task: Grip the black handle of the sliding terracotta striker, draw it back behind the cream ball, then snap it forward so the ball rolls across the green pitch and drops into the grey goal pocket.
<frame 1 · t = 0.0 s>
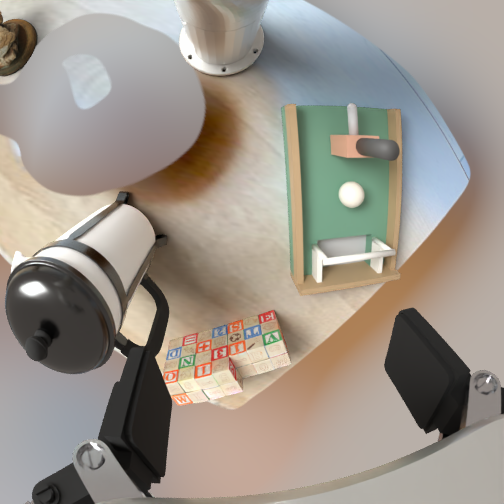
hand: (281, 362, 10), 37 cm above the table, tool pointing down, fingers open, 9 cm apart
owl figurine: (8, 46, 28), on the table
ball: (351, 194, 41), point 4 cm above the table, touching pitch
striker: (364, 136, 34), point 9 cm above the table, slide at 3.0 cm
pitch: (340, 192, 46), on the table
stack of blocks: (225, 336, 55), on the table
coffee press: (131, 238, 45), on the table
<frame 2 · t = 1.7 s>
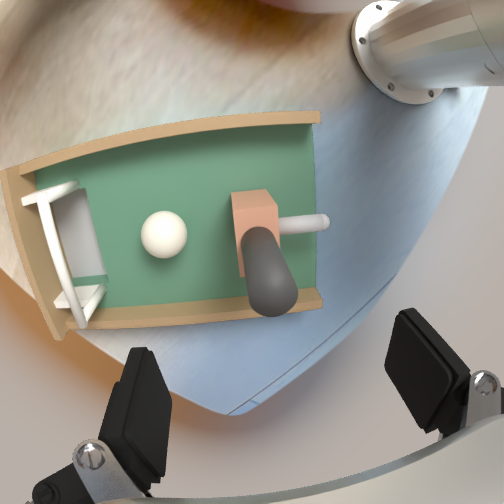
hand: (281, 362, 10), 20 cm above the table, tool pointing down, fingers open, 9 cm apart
ball: (163, 234, 24), point 4 cm above the table, touching pitch
striker: (278, 243, 20), point 9 cm above the table, slide at 3.0 cm
pitch: (167, 219, 28), on the table
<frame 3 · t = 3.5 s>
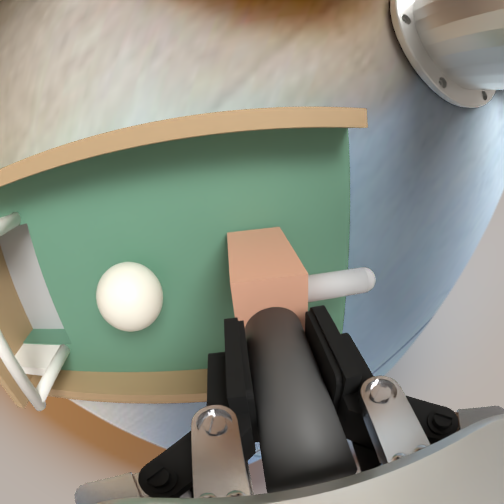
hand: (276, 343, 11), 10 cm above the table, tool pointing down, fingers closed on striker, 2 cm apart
ball: (129, 296, 16), point 4 cm above the table, touching pitch
striker: (307, 332, 12), point 9 cm above the table, slide at 3.0 cm, touching gripper
pitch: (139, 264, 20), on the table
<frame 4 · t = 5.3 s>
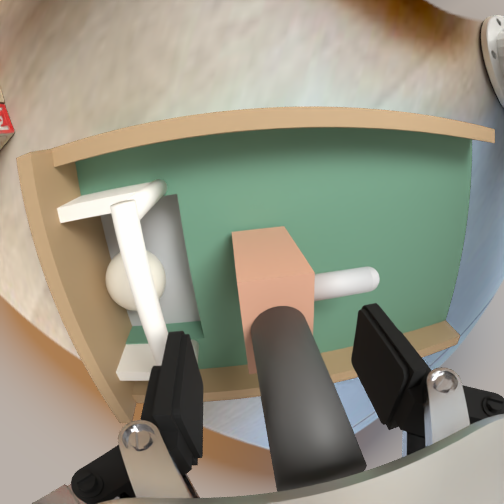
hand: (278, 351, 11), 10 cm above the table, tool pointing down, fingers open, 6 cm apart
ball: (135, 279, 18), point 2 cm above the table, tilted 111°, touching pitch
striker: (313, 331, 12), point 9 cm above the table, slide at 13.7 cm
pitch: (295, 246, 20), on the table
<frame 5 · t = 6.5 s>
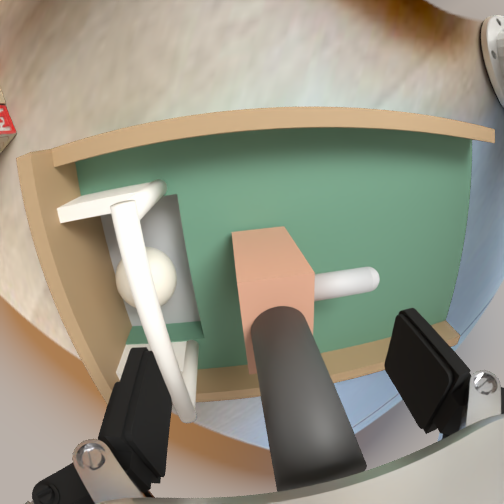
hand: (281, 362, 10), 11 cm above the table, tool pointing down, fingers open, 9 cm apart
ball: (146, 278, 18), point 2 cm above the table, tilted 132°, touching pitch
striker: (313, 331, 12), point 9 cm above the table, slide at 13.7 cm
pitch: (295, 246, 20), on the table
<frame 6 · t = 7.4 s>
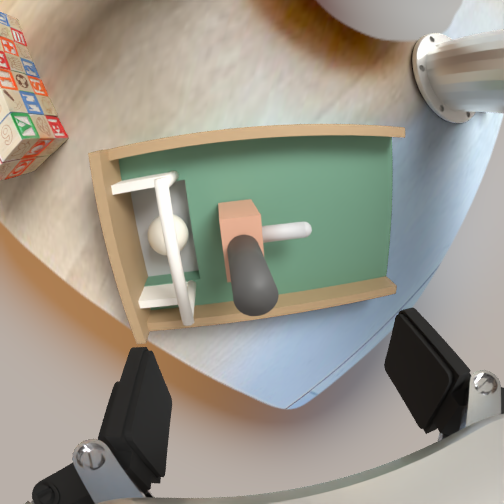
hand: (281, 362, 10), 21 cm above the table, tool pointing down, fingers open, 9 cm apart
ball: (167, 234, 27), point 2 cm above the table, tilted 148°, touching pitch
striker: (262, 250, 21), point 9 cm above the table, slide at 13.7 cm
pitch: (261, 216, 30), on the table
stack of blocks: (21, 87, 21), on the table
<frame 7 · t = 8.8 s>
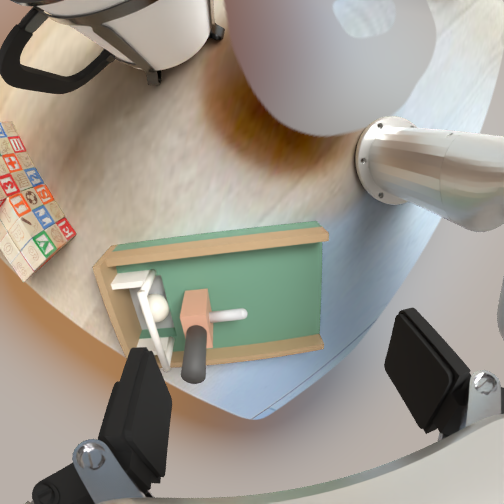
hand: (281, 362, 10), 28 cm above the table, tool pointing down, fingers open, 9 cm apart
ball: (155, 307, 38), point 2 cm above the table, tilted 159°, touching pitch
striker: (208, 334, 32), point 9 cm above the table, slide at 13.7 cm
pitch: (219, 293, 41), on the table
stack of blocks: (29, 187, 32), on the table
coffee press: (158, 41, 27), on the table
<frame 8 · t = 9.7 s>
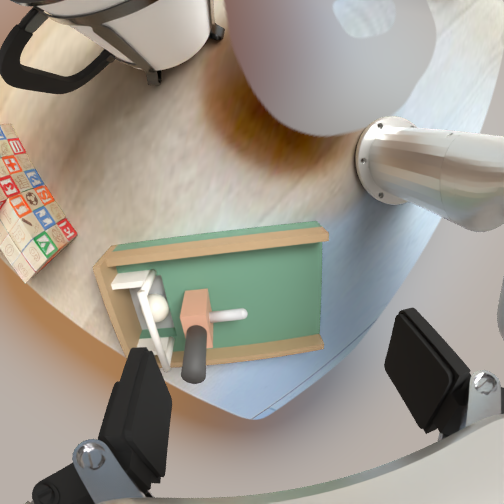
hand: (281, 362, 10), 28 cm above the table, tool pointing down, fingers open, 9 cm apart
ball: (155, 307, 38), point 2 cm above the table, tilted 157°, touching pitch
striker: (208, 334, 32), point 9 cm above the table, slide at 13.7 cm
pitch: (219, 293, 41), on the table
stack of blocks: (29, 188, 32), on the table
coffee press: (158, 41, 27), on the table
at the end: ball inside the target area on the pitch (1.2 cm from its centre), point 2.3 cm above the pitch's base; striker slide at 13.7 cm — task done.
